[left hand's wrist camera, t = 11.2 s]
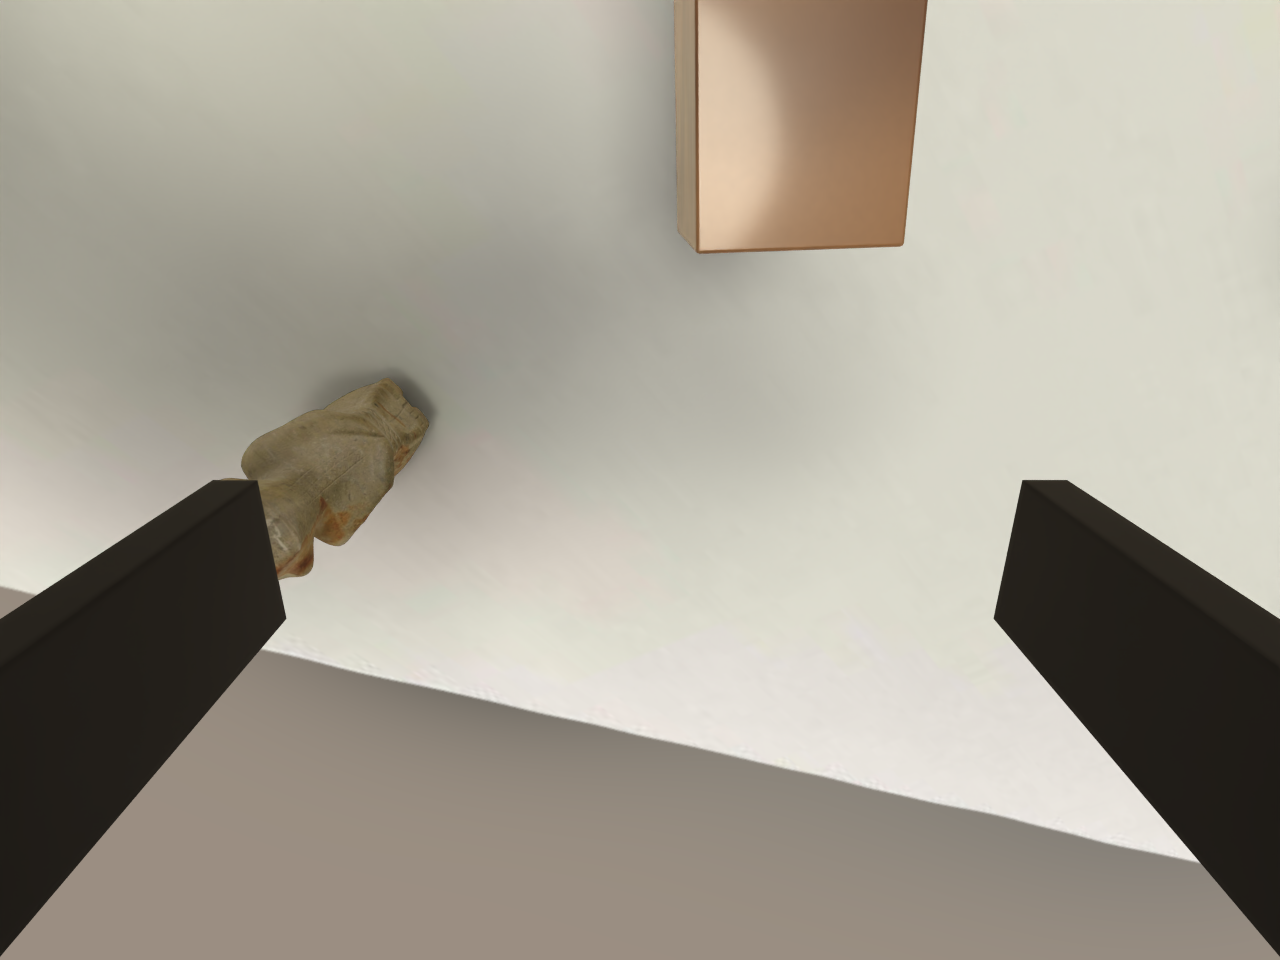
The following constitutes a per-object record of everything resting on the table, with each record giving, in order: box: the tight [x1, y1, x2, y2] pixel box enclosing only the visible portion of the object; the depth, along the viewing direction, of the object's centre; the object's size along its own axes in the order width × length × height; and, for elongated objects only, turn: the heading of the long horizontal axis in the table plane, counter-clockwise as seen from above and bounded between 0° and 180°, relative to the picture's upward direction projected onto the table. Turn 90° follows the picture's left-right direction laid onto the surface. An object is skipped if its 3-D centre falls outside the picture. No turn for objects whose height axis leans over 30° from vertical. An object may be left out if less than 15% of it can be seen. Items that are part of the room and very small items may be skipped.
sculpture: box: [222, 378, 429, 580], centre depth 33 cm, size 6×7×15 cm
